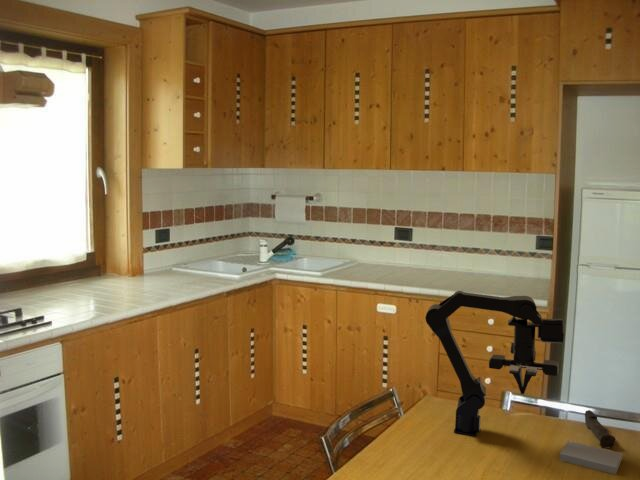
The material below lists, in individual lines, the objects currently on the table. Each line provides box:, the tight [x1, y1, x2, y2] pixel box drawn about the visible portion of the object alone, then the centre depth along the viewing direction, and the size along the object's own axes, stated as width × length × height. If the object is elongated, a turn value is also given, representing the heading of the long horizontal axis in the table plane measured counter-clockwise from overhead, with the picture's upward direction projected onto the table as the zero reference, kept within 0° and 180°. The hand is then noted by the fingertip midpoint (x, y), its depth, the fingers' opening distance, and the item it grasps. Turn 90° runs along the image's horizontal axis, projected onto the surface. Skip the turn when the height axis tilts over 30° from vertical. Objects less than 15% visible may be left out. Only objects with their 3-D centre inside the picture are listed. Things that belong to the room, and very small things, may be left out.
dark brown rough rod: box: [584, 409, 616, 448], centre depth 197 cm, size 19×4×5 cm, turn 174°
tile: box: [558, 440, 623, 475], centre depth 180 cm, size 2×10×14 cm
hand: (522, 393), depth 193 cm, fingers closed
